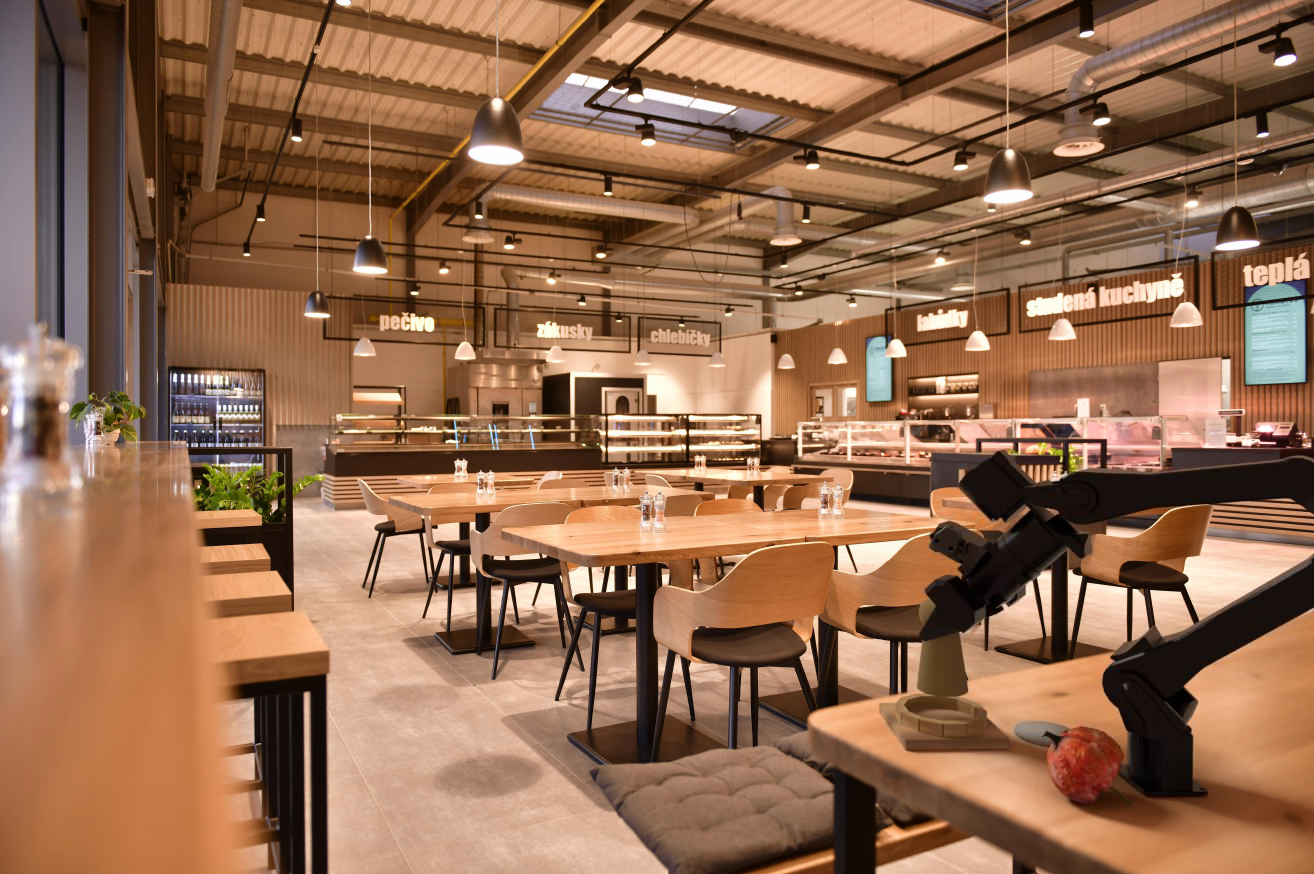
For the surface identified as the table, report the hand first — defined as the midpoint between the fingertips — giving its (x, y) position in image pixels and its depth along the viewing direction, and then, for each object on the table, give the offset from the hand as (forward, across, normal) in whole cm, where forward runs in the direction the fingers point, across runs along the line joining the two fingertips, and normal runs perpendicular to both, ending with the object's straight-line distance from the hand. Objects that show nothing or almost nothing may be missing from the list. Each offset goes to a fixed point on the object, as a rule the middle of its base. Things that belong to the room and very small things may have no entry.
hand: (930, 633), depth 103 cm
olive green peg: (+4, 0, +6) cm, 7 cm away
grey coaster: (0, -6, +17) cm, 18 cm away
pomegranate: (-5, +8, +22) cm, 24 cm away
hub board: (+8, 0, +9) cm, 12 cm away
